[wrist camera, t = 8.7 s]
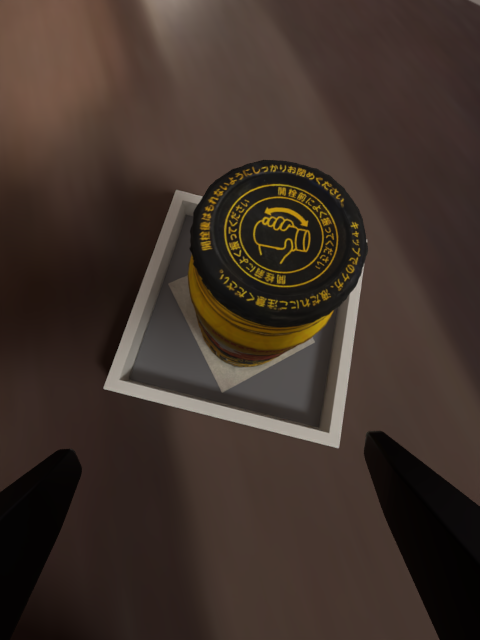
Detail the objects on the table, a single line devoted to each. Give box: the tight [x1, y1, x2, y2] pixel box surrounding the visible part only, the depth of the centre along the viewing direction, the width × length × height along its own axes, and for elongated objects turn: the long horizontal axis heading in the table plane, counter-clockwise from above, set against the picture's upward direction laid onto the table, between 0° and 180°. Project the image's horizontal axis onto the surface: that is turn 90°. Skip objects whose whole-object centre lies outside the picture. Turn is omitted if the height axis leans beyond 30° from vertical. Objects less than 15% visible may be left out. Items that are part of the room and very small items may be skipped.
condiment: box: [168, 160, 368, 393], centre depth 14 cm, size 7×8×12 cm
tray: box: [103, 190, 367, 448], centre depth 19 cm, size 14×14×2 cm
